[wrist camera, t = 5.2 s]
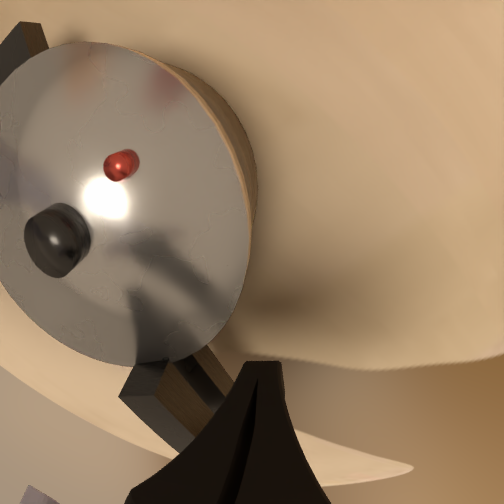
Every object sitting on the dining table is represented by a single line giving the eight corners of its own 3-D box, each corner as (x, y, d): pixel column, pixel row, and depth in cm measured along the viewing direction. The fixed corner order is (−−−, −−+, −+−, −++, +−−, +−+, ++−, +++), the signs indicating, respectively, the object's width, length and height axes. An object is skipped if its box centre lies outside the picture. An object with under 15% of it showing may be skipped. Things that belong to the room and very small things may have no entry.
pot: (114, 358, 21) (90, 401, 17) (17, 67, 12) (-38, 73, 8) (285, 364, 19) (281, 421, 15) (222, -24, 9) (193, -66, 5)
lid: (81, 400, 17) (64, 430, 15) (-38, 117, 9) (-79, 131, 6) (280, 425, 15) (276, 469, 13) (218, -9, 6) (189, -45, 4)
